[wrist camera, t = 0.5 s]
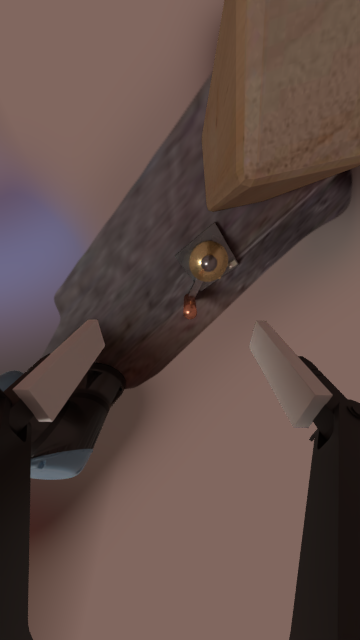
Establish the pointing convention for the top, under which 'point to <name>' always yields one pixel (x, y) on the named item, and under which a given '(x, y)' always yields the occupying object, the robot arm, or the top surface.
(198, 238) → the level base
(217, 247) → the crank handle
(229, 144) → the wooden block
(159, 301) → the top surface
